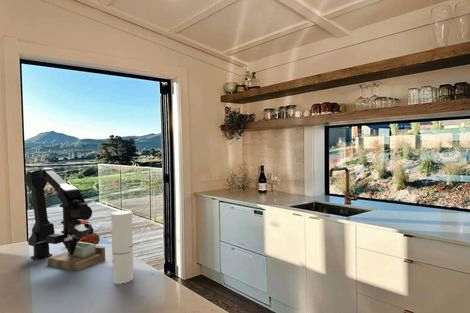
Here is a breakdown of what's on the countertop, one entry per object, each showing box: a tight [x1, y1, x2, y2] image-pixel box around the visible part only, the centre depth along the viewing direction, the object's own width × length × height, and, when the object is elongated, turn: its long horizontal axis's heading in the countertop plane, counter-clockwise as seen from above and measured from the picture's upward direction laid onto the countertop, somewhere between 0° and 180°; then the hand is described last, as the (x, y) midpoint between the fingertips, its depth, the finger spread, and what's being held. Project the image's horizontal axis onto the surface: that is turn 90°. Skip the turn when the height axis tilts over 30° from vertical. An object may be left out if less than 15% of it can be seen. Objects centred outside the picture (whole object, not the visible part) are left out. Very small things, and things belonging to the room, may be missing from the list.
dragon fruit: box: [78, 232, 101, 246], centre depth 157 cm, size 8×8×12 cm
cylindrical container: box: [110, 210, 134, 285], centre depth 117 cm, size 7×7×25 cm
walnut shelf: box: [47, 245, 106, 272], centre depth 138 cm, size 18×14×6 cm
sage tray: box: [68, 242, 96, 257], centre depth 139 cm, size 10×6×4 cm, turn 63°
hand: (71, 254), depth 135 cm, fingers closed
